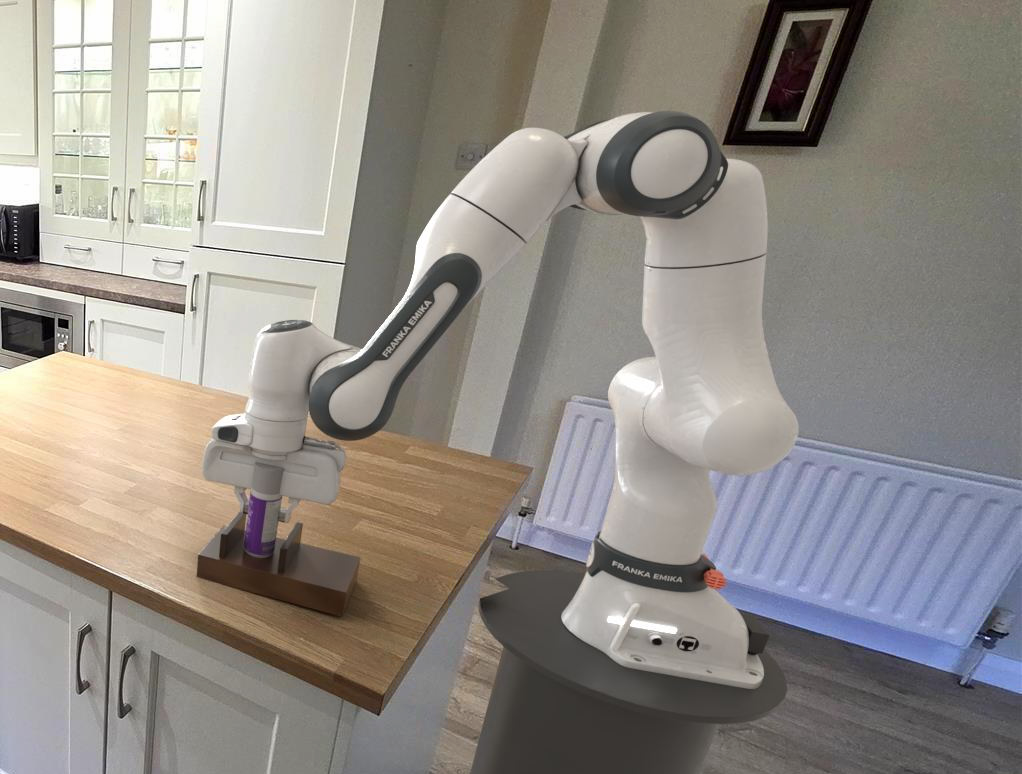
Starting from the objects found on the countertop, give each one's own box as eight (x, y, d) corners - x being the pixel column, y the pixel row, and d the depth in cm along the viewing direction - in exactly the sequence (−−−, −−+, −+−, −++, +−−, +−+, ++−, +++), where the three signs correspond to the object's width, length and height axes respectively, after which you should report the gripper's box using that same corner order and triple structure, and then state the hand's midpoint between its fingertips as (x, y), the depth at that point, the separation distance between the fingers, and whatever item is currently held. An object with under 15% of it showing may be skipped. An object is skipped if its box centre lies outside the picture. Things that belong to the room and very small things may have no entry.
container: (237, 545, 116) (247, 460, 110) (261, 539, 118) (273, 454, 111) (255, 560, 113) (267, 473, 106) (280, 554, 114) (293, 467, 108)
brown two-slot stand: (356, 579, 115) (364, 533, 112) (342, 616, 105) (350, 567, 102) (221, 546, 125) (225, 503, 122) (196, 577, 116) (199, 531, 113)
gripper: (352, 437, 106) (338, 523, 111) (215, 415, 115) (208, 496, 120) (343, 450, 101) (330, 540, 106) (201, 426, 110) (195, 510, 115)
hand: (264, 516), depth 113 cm, fingers closed on container, 4 cm apart
